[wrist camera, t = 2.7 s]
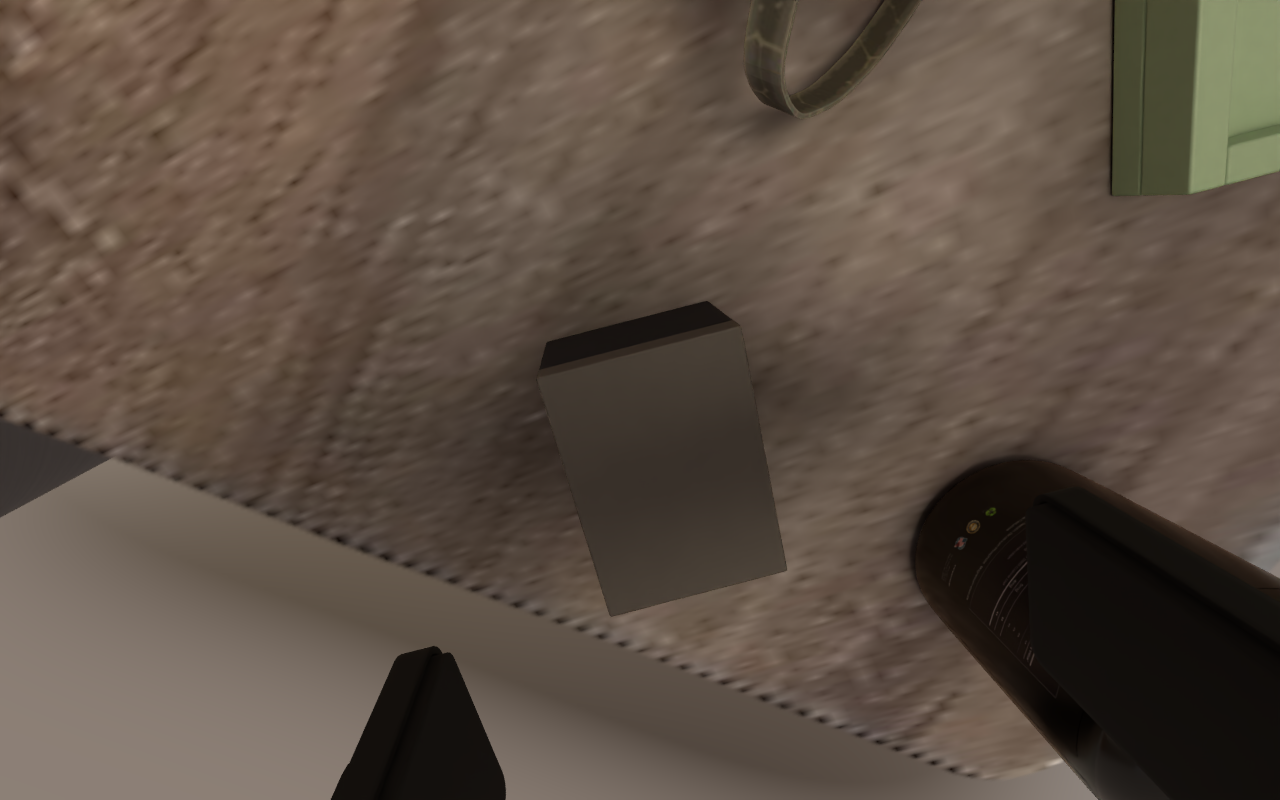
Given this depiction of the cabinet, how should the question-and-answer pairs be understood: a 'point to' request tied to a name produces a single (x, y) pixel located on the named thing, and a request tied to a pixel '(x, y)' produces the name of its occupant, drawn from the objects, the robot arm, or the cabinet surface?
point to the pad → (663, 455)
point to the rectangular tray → (1194, 94)
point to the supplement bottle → (999, 605)
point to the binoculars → (767, 65)
